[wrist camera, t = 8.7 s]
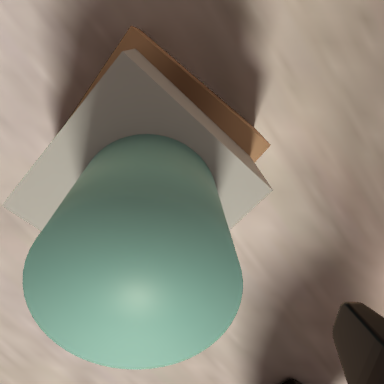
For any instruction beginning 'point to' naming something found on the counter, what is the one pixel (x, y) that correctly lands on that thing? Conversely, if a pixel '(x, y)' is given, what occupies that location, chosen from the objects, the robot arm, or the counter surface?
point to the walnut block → (190, 92)
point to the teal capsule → (136, 259)
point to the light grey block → (133, 125)
